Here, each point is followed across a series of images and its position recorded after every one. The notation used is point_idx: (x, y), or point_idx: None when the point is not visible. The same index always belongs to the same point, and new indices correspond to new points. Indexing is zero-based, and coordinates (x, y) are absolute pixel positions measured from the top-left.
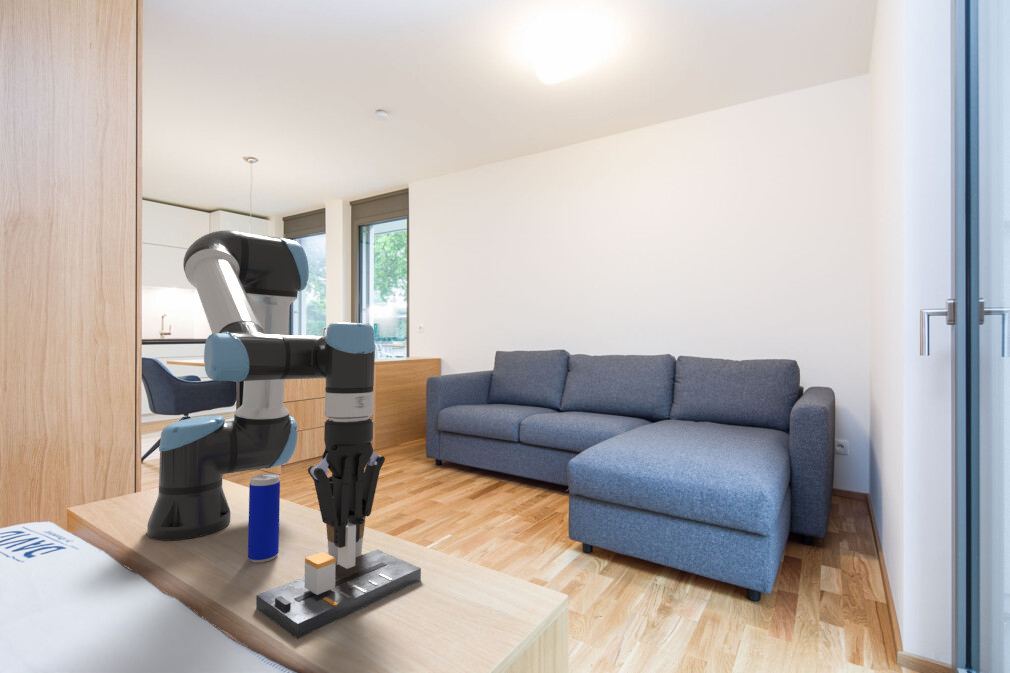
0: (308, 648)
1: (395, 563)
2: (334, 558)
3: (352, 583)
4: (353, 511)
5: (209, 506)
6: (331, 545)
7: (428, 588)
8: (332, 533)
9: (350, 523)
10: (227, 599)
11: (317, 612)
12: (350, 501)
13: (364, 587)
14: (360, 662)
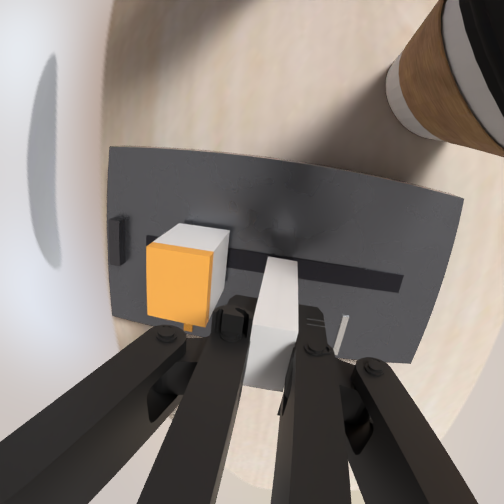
0: (126, 334)
1: (413, 303)
2: (201, 326)
3: None
4: (281, 419)
5: None
6: (396, 76)
7: None
8: (407, 75)
9: (281, 367)
10: (116, 62)
11: (151, 319)
12: (285, 436)
13: None
14: None
